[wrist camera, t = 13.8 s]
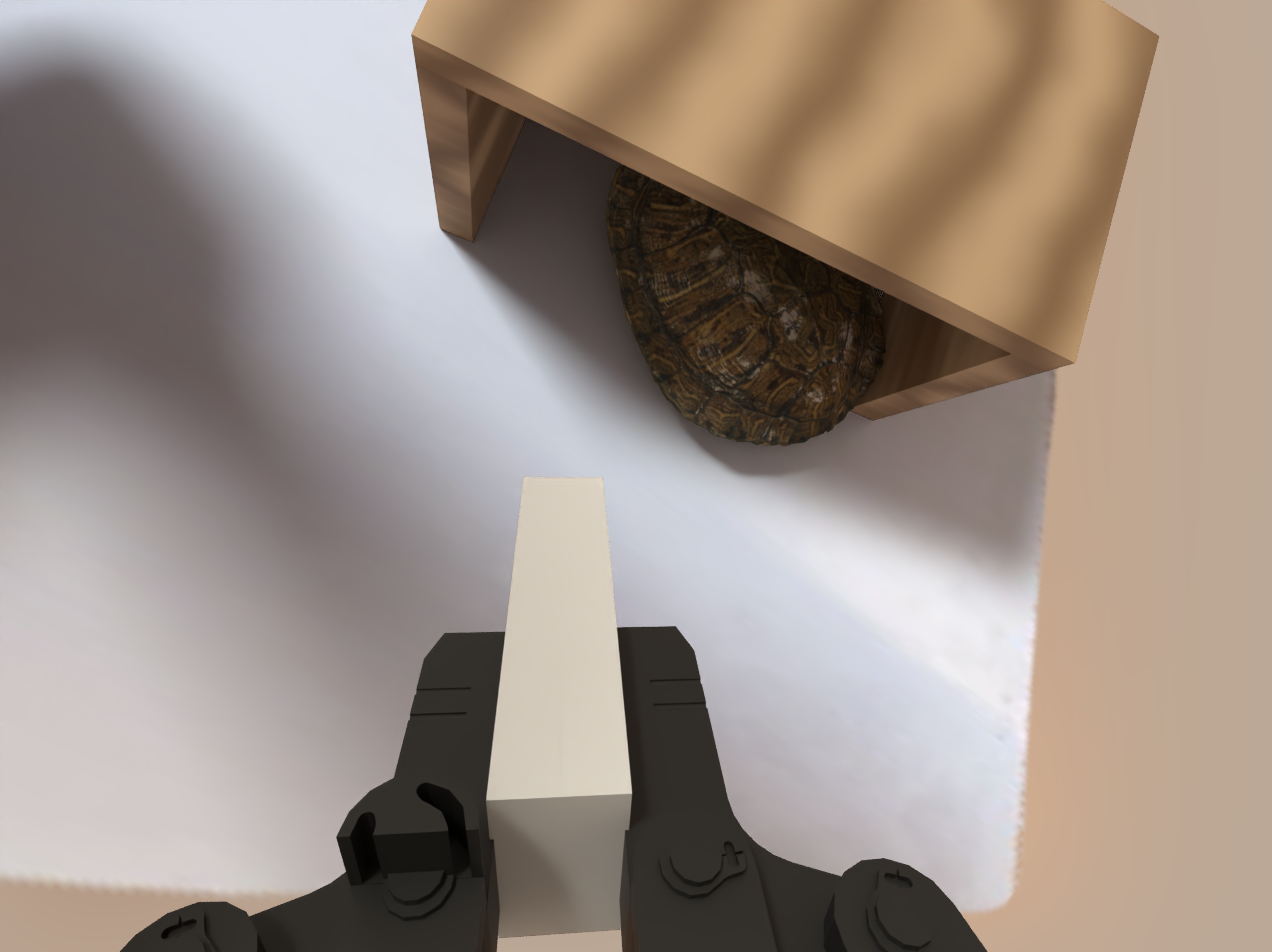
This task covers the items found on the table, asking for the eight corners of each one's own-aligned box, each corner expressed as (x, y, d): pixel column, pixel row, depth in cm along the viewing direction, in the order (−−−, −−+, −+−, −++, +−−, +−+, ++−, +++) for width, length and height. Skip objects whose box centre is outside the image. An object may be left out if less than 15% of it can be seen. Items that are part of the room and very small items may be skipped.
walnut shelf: (439, 228, 39) (411, 34, 24) (546, -14, 41) (581, -326, 26) (872, 420, 44) (1075, 362, 29) (941, 195, 47) (1159, 36, 32)
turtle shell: (739, 503, 36) (579, 135, 31) (680, 484, 44) (548, 194, 40) (965, 375, 39) (849, 29, 35) (869, 381, 48) (767, 104, 43)
